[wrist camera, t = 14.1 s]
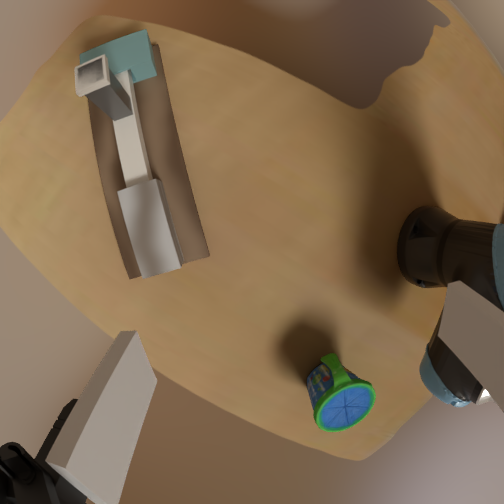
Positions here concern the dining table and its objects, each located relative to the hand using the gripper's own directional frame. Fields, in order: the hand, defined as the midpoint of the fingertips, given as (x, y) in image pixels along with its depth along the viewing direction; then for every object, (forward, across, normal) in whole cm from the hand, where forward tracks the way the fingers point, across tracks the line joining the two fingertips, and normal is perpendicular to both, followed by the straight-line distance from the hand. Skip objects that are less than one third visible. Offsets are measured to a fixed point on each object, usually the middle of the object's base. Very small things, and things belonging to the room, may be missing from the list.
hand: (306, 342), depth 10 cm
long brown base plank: (+30, -16, +11) cm, 36 cm away
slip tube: (+28, -16, +14) cm, 35 cm away
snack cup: (+29, +8, -31) cm, 43 cm away
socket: (+30, -17, +25) cm, 42 cm away
